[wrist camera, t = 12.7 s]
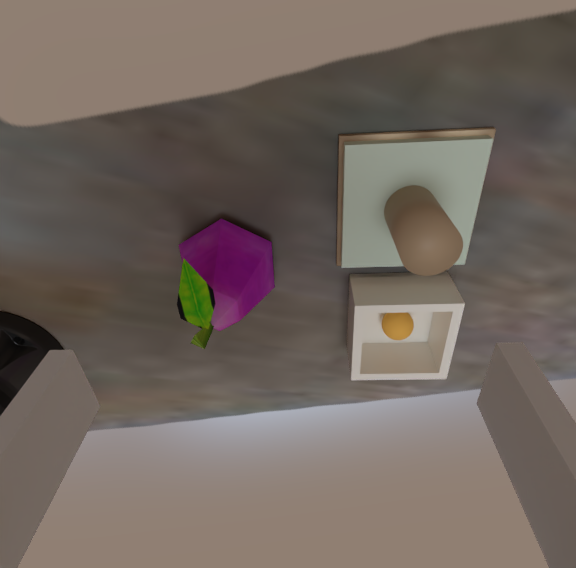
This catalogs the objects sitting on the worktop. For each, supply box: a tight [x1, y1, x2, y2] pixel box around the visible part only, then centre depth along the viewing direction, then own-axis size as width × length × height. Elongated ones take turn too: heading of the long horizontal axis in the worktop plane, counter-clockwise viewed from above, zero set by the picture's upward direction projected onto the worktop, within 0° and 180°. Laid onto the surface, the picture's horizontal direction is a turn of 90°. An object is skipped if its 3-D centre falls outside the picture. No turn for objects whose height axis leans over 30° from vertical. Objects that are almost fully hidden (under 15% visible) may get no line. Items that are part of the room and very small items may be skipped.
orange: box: [382, 312, 414, 340], centre depth 46 cm, size 4×4×4 cm
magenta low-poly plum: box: [177, 219, 275, 349], centre depth 39 cm, size 11×11×15 cm
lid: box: [341, 135, 493, 276], centre depth 36 cm, size 13×13×9 cm
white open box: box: [347, 271, 465, 380], centre depth 46 cm, size 11×11×6 cm
